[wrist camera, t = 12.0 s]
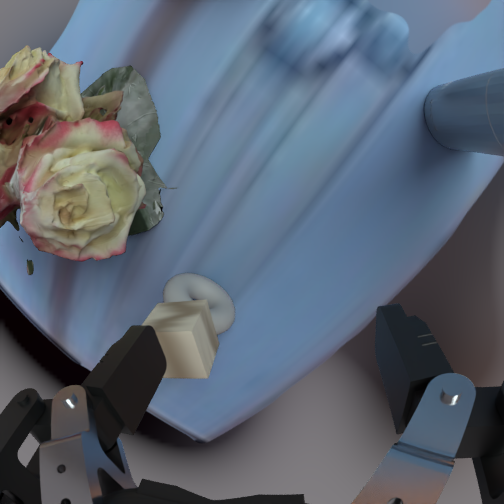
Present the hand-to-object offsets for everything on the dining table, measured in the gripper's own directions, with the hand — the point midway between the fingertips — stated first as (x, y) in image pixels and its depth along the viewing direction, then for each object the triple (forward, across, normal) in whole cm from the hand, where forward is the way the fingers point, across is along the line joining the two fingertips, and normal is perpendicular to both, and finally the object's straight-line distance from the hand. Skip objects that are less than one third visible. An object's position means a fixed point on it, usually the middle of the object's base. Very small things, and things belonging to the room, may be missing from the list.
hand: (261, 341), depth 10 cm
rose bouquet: (+29, +26, -12) cm, 40 cm away
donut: (+29, +12, +11) cm, 33 cm away
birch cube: (+19, +12, +11) cm, 25 cm away
